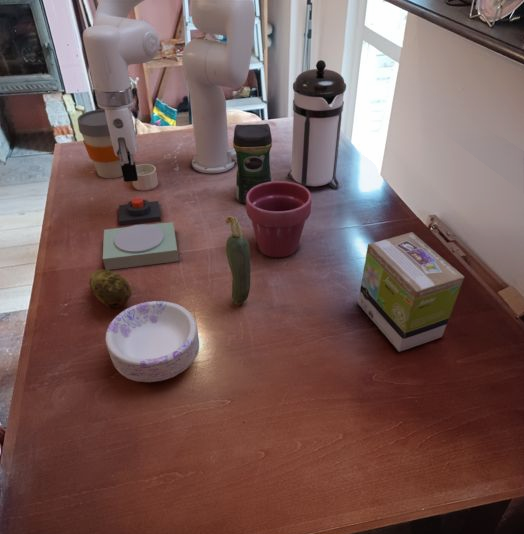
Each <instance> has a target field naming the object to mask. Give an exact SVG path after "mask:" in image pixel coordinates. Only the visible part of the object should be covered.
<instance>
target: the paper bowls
mask: <svg viewBox="0 0 524 534" xmlns="http://www.w3.org/2000/svg"><path fill="white" fill-rule="evenodd" d="M104 341H105V345H106V348H107V351H108V353H109V356H110V359H111V362H112V365H113V367H114V368H115V369H116V370H117V372H118V373H119V374H120V375H122V376H123V377H125V378H127V379H128V380H131V381H135V382H139V383H140V382H143V383H155V382H162V381H165V380H168V379H171V378H174V377H176V376H177V375H179V374H181V373H183V372H184V371H185V370H187V369H188V368H189V367H190V366H191V365H192V363H193V362H195V360H196V358H197V356H198V354H199V350H200V339H199V331H198V326H197V321H196V318H195V317H194V316H193V314H192V313H191V312H190V311H189V310H187V308H185V307H184V306H182V305H180V304H177V303H175V302H170V301H164V300H153V301H152V300H150V301H145V302H141V303H138V304H135V305H131V306H129V307H128V308H126V309H124V310H123V311H121V312H120V313H119V314H117V315H116V316H115V317H114V319H112V321H111V322H110V323H109V325H108V327H107V328H106V332H105V340H104Z"/></svg>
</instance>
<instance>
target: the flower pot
mask: <svg viewBox="0 0 524 534" xmlns="http://www.w3.org/2000/svg"><path fill="white" fill-rule="evenodd" d="M245 211H246V215H247V217H248V219H250V221H251V224H252V228H253V232H254V236H255V239H256V243H257V246H258V249H259V251H260V252H261V254H264V255H265V256H268V257H271V258H286V257H289V256H291V255H293V254H295V253H296V252H297V250H298V248H299V243H300V241H301V238H302V234H303V230H304V227H305V223H306V221H307V219H308V218H309V217H310V215H311V213H312V194H311V191H310V190H309V189H308V187H307V188H305V187H304V186H302V185H301V184H300V183H297V182H292V181H286V180H285V181H284V180H281V181H280V180H274V181H273V180H272V182H266V183H262V184H259V185H257V186H255V187H253V188H252V189H250V190H249V192H248V193H247V195H246V203H245Z"/></svg>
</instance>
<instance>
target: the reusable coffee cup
mask: <svg viewBox="0 0 524 534" xmlns="http://www.w3.org/2000/svg"><path fill="white" fill-rule="evenodd" d="M77 127H78V131H79V133H80V134H81V135H82V138H83V141H82V142H83V144H84V147H85V150H86V153H87V155H88V157H89V159H90V160H91V161H92V164H93V165H94V168H95V171H96V173H97V175H98V176H99V177H101V178H104V179H116V178H122V177H123V174H122V169H121V161H120V156H118V157H117V156H116V155H115V152H114V149H113V145H112V141H111V137H110V133H109V128H108V124H107V119H106V114H105V109H102V108H99V109H93V110H89V111H86V112H83V113H82V114H80V115H79V116H78V117H77Z"/></svg>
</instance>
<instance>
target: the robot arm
mask: <svg viewBox="0 0 524 534" xmlns="http://www.w3.org/2000/svg"><path fill="white" fill-rule="evenodd" d="M144 1H145V0H99V1H98V4H97V7H96V10H95V14H94V16H93V22H92V25H91V26H89V27H87V28H85V29H84V30H83V33H82V40H83V46H84V49H85V55H86V58H87V59H86V60H87V63H88V67H89V72H90V76H91V77H90V78H91V81H92V85H93V89H94V90H93V91H94V95H95V99H96V103H97V106H98V108H99V109H105V114H106V119H107V124H108V128H109V133H110V137H111V141H112V145H113V149H114V152H115V155H116V156H117V157H118V156H120V161H121V169H122V174H123V176H122V178H123V182H125V183H130V182H131V183H132V181H137V180H138V176H137V171H136V165H137V164H136V161H135V160H134V156H138V153H139V152H138V139H137V135H136V130H135V125H134V119H133V114H132V109H131V107H132V106H133V105H134V104H135V101H134V96H133V95H134V94H133V90H132V83H131V79H130V72H129V66H131V65H140V64H141V65H142V64H146V63H150V62H152V60H154V59H155V58H156V57H157V55H158V53H159V51H160V45H161V43H160V37H159V33H158V31H157V30H156V28H154V26H153V25H152V24H150V23H149V22H147V21H144V20H142V19H134V18H129V14H130V13H131V12H132V11H133V10H134V8H136V7H137V6H138V5H139V4H141V3H142V2H144ZM191 21H192V24H193V26H194V28H195V29H196V30H198V31H200V32H201V33H205V34H210V35H216V36H217V35H218V36H223V37H226V42H224V41H218V40H211V39H205V38H195V39H193V40H190V41H189V42H187V43H186V44H185V45H184V47H183V50H182V53H181V65H182V69H183V73H184V77H185V80H186V84H187V88H188V93H189V100H190V110H191V119H192V120H191V121H192V129H193V137H194V147H195V156H194V157H193V158H192V160H191V167H192V169H194V170H195V171H197V172H199V173H203V174H212V175H213V174H222V173H225V172H228V171H230V170H231V169H233V168H234V166H235V164H236V163H235V162H236V159H237V156H236V151H235V149H234V148H232V147H230V145H229V133H228V131H229V130H228V115H227V100H226V96H225V92H224V90H223V87H224V88H230V89H239V88H241V87H243V86H244V84H245V83H246V81H247V80H248V76H249V71H250V67H251V66H250V65H251V58H252V51H253V41H254V33H255V25H256V8H255V4H254V1H253V0H191Z"/></svg>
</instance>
